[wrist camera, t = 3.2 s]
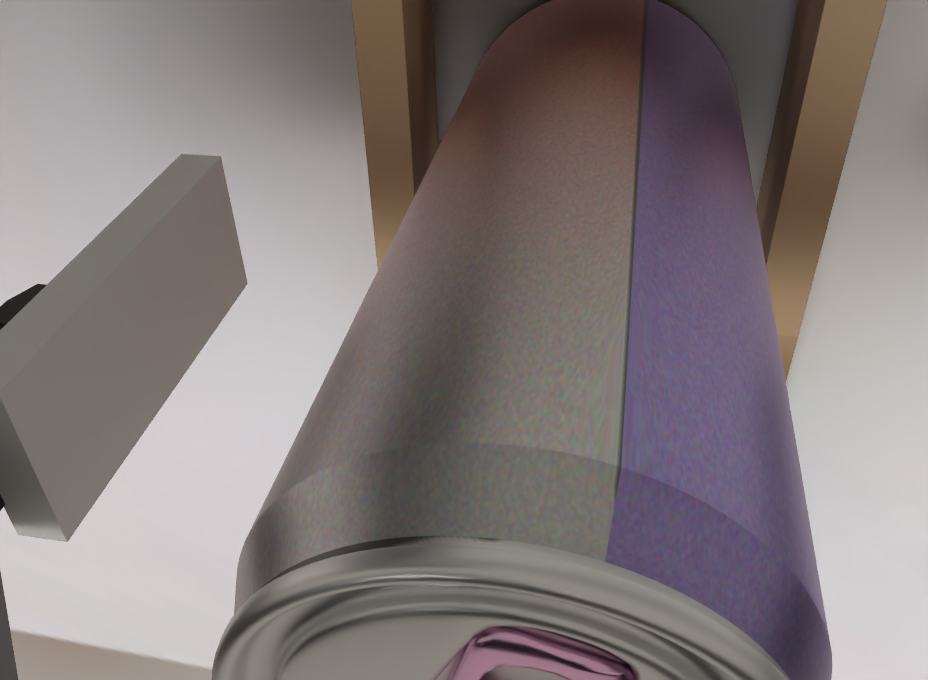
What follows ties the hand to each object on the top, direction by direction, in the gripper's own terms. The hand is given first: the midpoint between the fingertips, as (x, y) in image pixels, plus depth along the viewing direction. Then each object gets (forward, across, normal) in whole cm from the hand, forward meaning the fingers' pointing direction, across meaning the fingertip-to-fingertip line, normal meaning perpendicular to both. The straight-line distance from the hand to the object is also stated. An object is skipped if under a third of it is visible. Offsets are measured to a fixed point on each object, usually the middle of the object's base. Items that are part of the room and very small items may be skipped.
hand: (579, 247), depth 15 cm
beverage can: (+6, 0, 0) cm, 6 cm away
